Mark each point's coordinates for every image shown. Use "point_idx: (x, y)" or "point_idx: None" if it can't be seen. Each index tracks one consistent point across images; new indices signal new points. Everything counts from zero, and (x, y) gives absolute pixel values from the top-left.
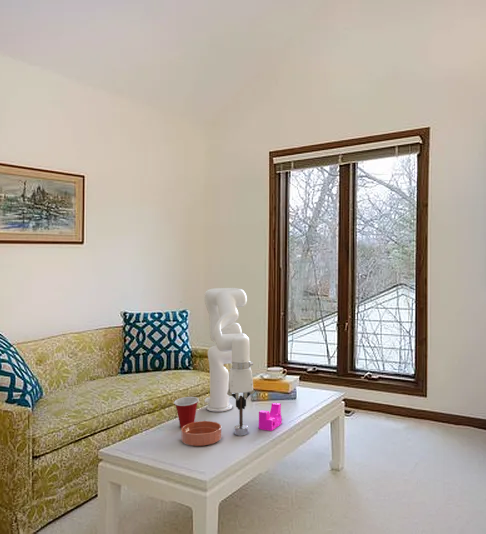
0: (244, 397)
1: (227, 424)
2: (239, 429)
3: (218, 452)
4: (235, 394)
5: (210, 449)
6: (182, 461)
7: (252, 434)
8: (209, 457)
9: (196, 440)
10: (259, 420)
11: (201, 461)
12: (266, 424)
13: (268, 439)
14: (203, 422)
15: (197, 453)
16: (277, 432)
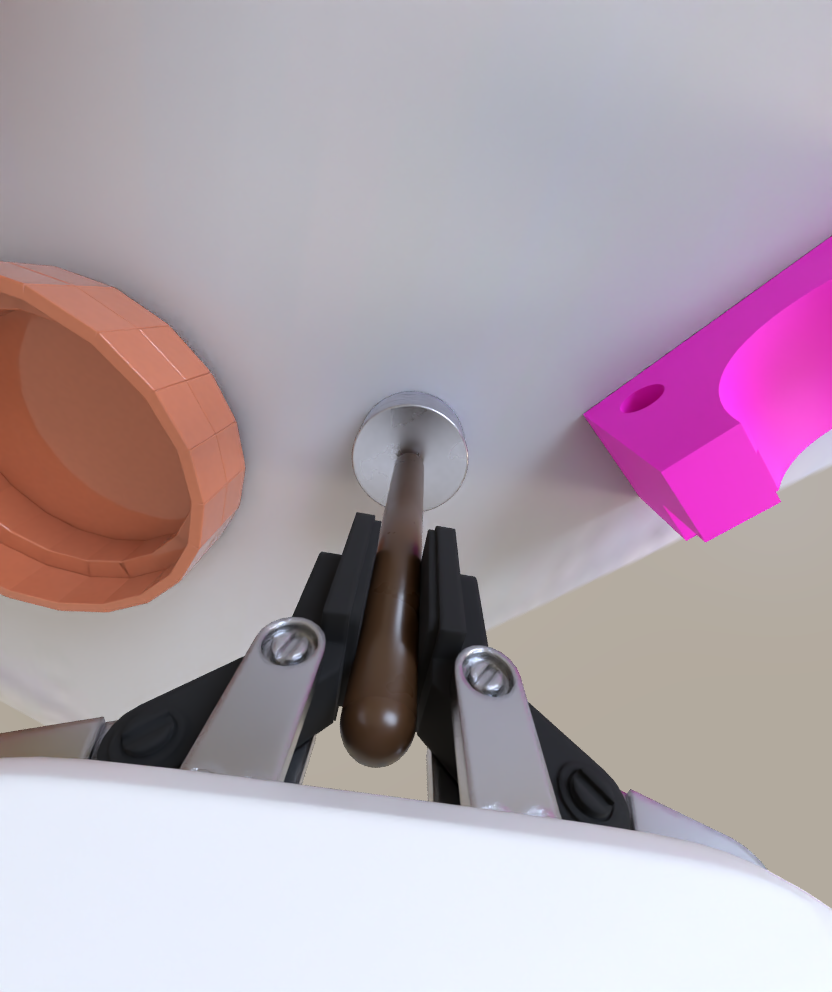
0: (431, 778)
1: (370, 109)
2: (380, 502)
3: (211, 644)
4: (228, 737)
5: (169, 600)
6: (35, 662)
7: (479, 498)
8: (164, 672)
9: (45, 567)
10: (617, 443)
11: (127, 690)
12: (639, 484)
13: (526, 608)
14: (9, 292)
15: (99, 616)
16: (652, 537)
